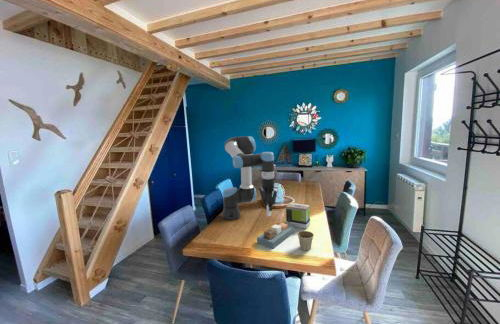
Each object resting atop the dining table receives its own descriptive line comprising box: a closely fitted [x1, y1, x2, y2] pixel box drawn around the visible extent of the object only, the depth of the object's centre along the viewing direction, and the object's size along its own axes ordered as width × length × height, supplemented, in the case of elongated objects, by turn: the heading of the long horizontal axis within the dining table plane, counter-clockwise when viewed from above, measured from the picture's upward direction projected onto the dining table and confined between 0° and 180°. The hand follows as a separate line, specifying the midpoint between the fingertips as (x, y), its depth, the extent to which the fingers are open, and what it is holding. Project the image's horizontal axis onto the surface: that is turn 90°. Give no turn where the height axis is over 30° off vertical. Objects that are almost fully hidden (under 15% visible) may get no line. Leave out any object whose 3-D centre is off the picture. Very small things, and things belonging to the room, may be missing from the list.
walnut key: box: [263, 228, 275, 240], centre depth 147 cm, size 5×5×4 cm
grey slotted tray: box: [256, 222, 295, 250], centre depth 154 cm, size 12×26×4 cm, turn 141°
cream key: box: [270, 224, 282, 235], centre depth 153 cm, size 5×5×4 cm
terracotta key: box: [278, 222, 288, 230], centre depth 160 cm, size 5×5×4 cm
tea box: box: [285, 202, 311, 230], centre depth 172 cm, size 15×10×15 cm, turn 59°
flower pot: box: [297, 230, 315, 251], centre depth 139 cm, size 9×9×9 cm
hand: (269, 215), depth 145 cm, fingers closed
